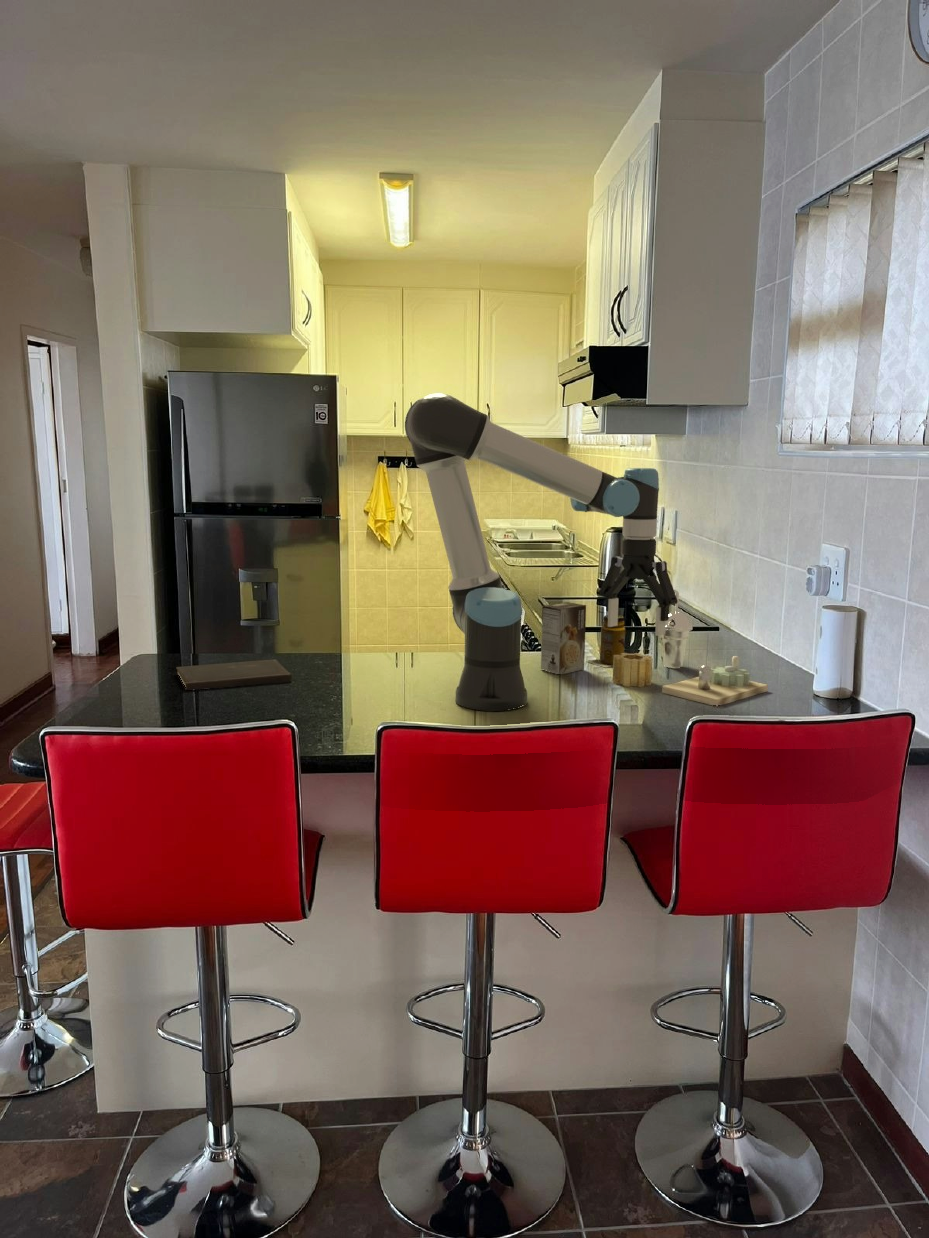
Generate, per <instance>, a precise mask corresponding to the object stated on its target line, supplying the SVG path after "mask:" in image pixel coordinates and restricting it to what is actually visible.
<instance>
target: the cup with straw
mask: <svg viewBox="0 0 929 1238" xmlns="http://www.w3.org/2000/svg"><path fill="white" fill-rule="evenodd" d="M674 592H675V595H676V598H677V601H678V602H677V604H674V605H675V607H674V611H669V619H668V621H666V631H665V635H660V637H661V643H662V658H663V667H664V668H667V667H668V669H681V668H680V667H682V668H683V663H684V659H685V653H686V648H687V647H686V646H687V643H688V639H689V636H690V631H692V630H693V625H692V624H691V623H690V620H689V618H688V616H687V615H686V614H685V613H683V612H681V611H679V601H680V600H679V599H680V593H679V592H678V590H677V589H674Z"/></svg>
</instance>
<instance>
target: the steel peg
mask: <svg viewBox="0 0 929 1238" xmlns="http://www.w3.org/2000/svg"><path fill="white" fill-rule="evenodd" d="M711 668H712V667H710V666H709V665H708V664H703V665H701V666H700V667H699V669H698V677H699V681H698V689H701V690H710V685H711Z"/></svg>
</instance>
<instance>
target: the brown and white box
mask: <svg viewBox="0 0 929 1238" xmlns="http://www.w3.org/2000/svg"><path fill="white" fill-rule="evenodd" d="M541 609H542V613H541V615H542V616H541V619H542V620H541V647H540V648H541V650H540V651H541V654H540V656H541V657H540V670H541V669H544V670H547V671H550V672H553V673H555V674H554V675H557V674H561V675H565V674H569V673H574V672H578V671H583V670H585V657H586V656H585V654H586V653H585V650H586V627H587V626H586V619H587V605H586V604H579V603H575V602H566V601H565V602H560V603H559V602H558V603H552V604H546V605H542V607H541ZM550 672H549V673H550ZM553 673H552V674H553Z"/></svg>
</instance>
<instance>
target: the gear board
mask: <svg viewBox="0 0 929 1238" xmlns="http://www.w3.org/2000/svg"><path fill="white" fill-rule="evenodd" d="M698 681H699V676H696V677H693V678H688V679H684V680H682V681H677V682H673V683H669V684H666V685H662V689H661V692H662V694H665V695H670V696H674V697H678V698H682V699H685V700H689V701H693V702H698V703H702V704H706V705H708V706H709V705H710V706H713V705H716V706H715V707H719V706H718V705H720V706H724V705H726V704H730V703H733V702H735V701H736V702H737V701H740V700H743V699H746V698H751V697H753V696H755V695H759V694H762V693H766V692H768V689H769V688H768V686H769V684H765V683H760V682H756V681H752V680H749V684H748V685H744V684H743V687H737V686H728V687H727V686H722V685H721V684H713V683H711V685H710V690H701V689H698Z"/></svg>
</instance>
